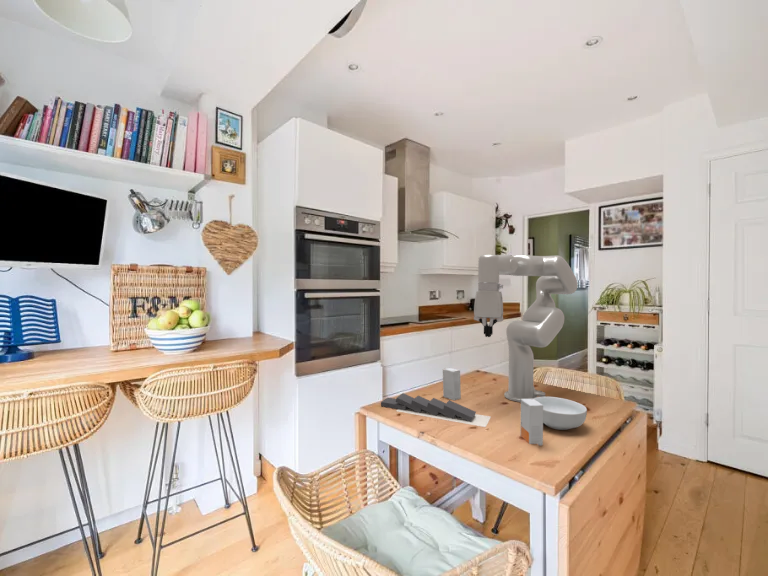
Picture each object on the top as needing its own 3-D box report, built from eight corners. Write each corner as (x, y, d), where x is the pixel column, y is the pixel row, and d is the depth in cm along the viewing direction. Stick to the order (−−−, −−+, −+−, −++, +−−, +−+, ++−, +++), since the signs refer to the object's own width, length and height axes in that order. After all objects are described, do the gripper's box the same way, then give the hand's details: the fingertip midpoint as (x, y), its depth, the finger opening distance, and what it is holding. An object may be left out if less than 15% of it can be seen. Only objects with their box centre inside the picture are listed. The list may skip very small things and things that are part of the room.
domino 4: (459, 409, 129) (433, 397, 133) (454, 414, 123) (428, 402, 127) (458, 413, 129) (432, 401, 133) (453, 418, 123) (427, 406, 128)
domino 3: (436, 416, 126) (411, 404, 130) (441, 410, 131) (417, 399, 136) (437, 411, 126) (412, 400, 130) (442, 406, 131) (418, 395, 135)
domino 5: (476, 411, 126) (449, 400, 130) (472, 417, 121) (444, 405, 125) (474, 416, 126) (448, 404, 130) (470, 422, 121) (443, 409, 125)
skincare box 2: (519, 437, 111) (520, 398, 110) (533, 436, 111) (533, 398, 111) (529, 446, 105) (529, 405, 104) (543, 445, 105) (544, 405, 105)
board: (491, 418, 126) (491, 416, 126) (485, 428, 117) (485, 427, 117) (406, 404, 140) (406, 402, 140) (395, 412, 131) (395, 410, 131)
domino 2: (426, 403, 134) (403, 393, 138) (421, 409, 129) (396, 397, 133) (425, 407, 134) (401, 396, 138) (420, 413, 129) (395, 401, 133)
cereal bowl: (567, 440, 108) (567, 417, 108) (520, 422, 122) (520, 401, 122) (597, 428, 117) (597, 406, 117) (550, 412, 131) (550, 393, 131)
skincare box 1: (461, 399, 145) (461, 369, 145) (454, 402, 142) (454, 371, 142) (449, 395, 150) (449, 367, 150) (442, 398, 147) (442, 368, 147)
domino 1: (411, 401, 137) (387, 397, 141) (405, 406, 131) (380, 401, 136) (411, 405, 137) (387, 401, 141) (405, 410, 131) (380, 406, 136)
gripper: (510, 287, 135) (510, 336, 135) (470, 287, 142) (470, 333, 142) (508, 288, 128) (507, 339, 129) (466, 287, 135) (465, 336, 135)
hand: (488, 336), depth 135 cm, fingers closed
